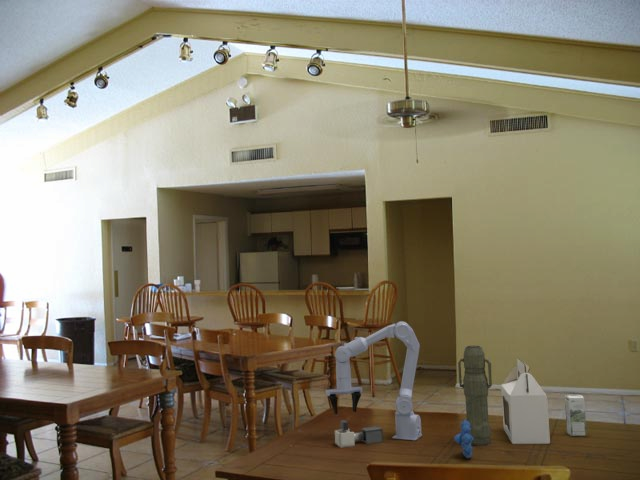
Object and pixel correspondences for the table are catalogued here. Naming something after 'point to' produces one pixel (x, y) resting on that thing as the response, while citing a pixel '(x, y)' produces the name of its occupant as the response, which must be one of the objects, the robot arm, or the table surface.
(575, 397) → the syrup box
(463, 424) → the grapes
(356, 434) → the silver cylinder with handle
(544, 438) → the gable box
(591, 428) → the table surface
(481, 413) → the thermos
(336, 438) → the ceramic socket
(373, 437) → the charcoal sleeve
